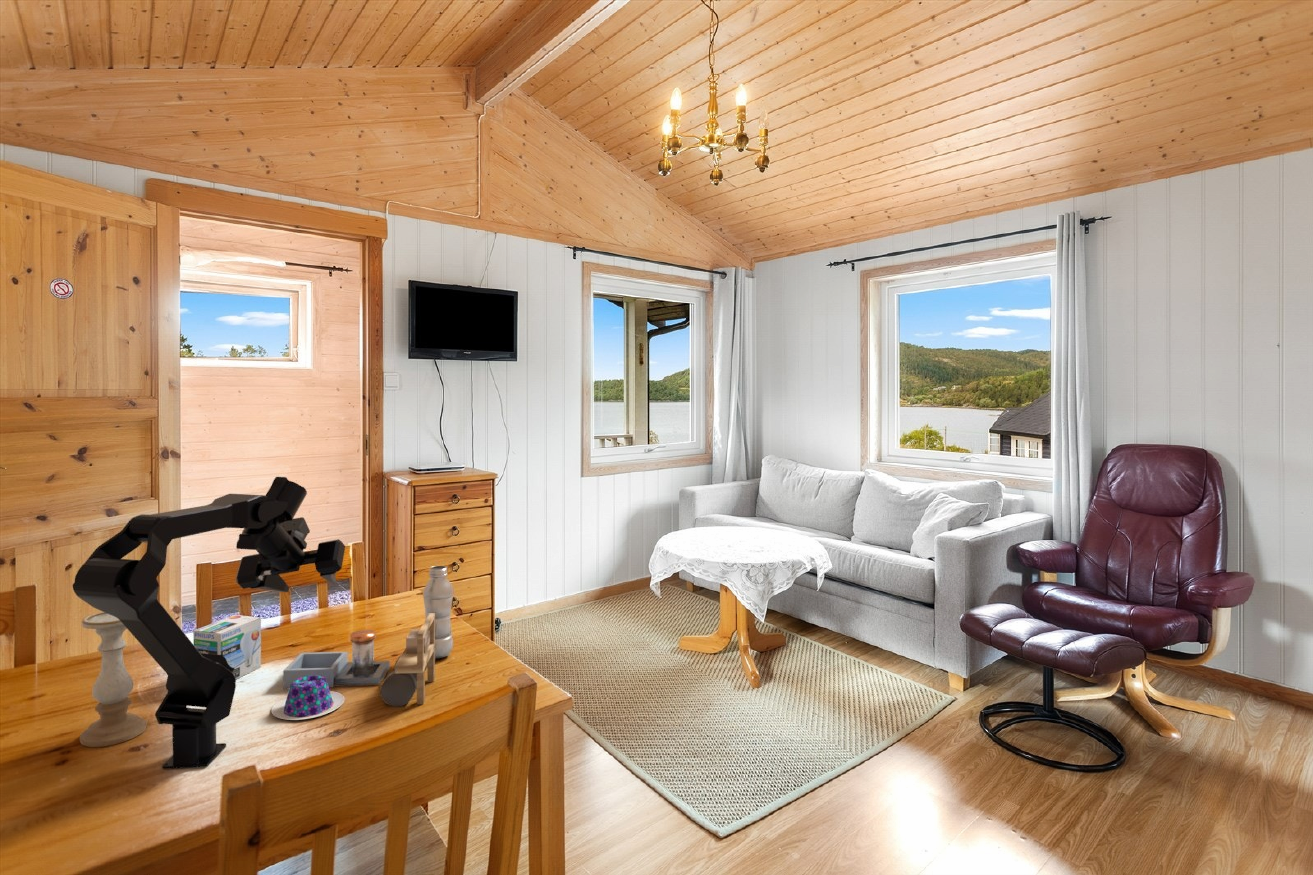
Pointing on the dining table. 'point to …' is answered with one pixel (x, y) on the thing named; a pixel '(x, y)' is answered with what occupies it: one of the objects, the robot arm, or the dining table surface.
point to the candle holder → (111, 687)
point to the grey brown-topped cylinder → (363, 652)
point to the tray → (315, 666)
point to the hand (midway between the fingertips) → (311, 585)
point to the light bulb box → (233, 642)
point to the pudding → (308, 699)
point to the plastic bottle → (440, 608)
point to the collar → (354, 680)
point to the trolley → (412, 667)
